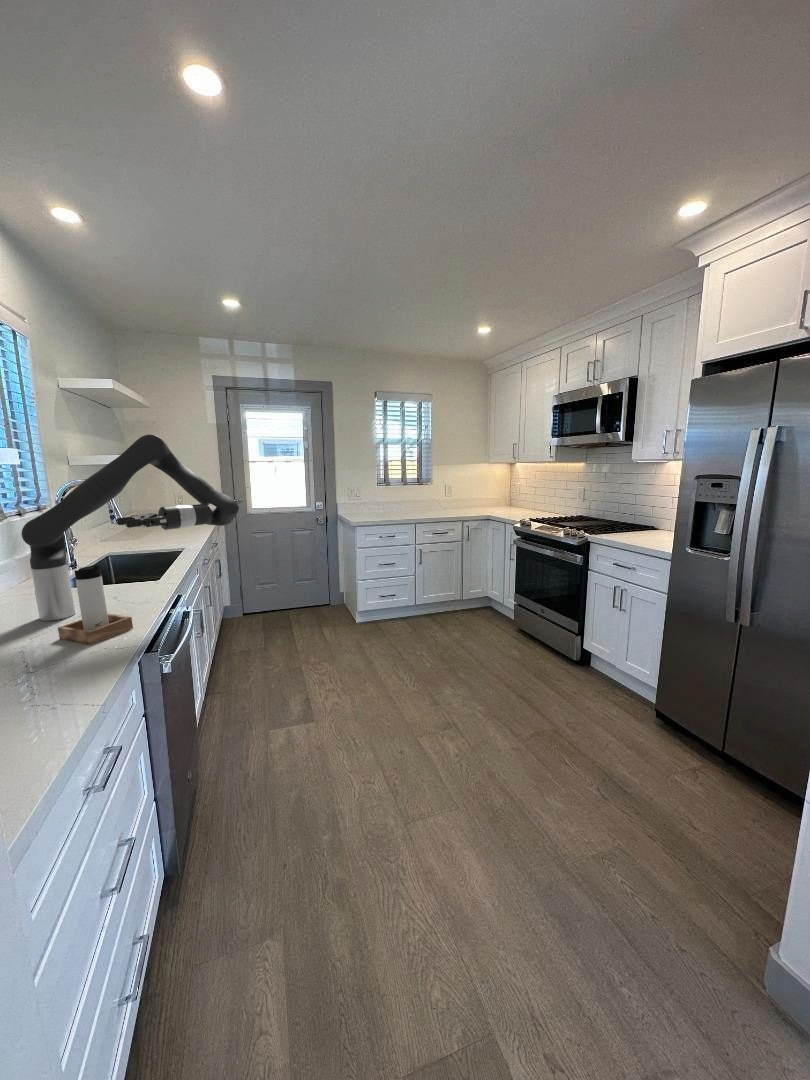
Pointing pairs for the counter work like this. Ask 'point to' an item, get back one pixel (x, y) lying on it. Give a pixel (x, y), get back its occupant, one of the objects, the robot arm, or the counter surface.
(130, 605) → the counter surface
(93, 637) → the walnut caddy
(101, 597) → the travel mug
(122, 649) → the counter surface
